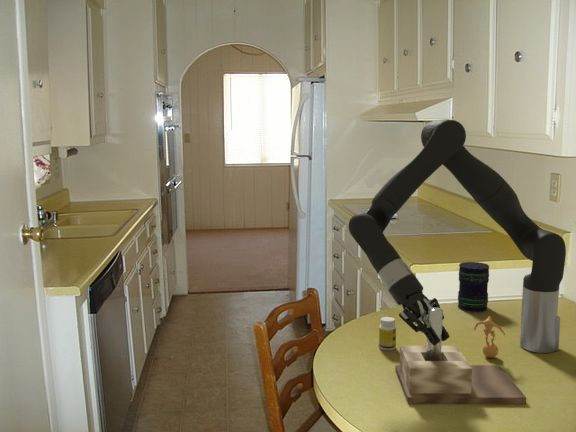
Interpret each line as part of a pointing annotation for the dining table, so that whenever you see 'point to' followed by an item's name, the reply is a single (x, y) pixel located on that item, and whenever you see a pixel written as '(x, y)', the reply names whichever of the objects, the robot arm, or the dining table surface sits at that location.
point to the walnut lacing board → (473, 389)
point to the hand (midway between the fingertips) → (441, 341)
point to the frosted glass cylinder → (436, 323)
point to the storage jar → (473, 286)
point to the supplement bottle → (387, 333)
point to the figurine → (491, 348)
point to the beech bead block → (435, 371)
